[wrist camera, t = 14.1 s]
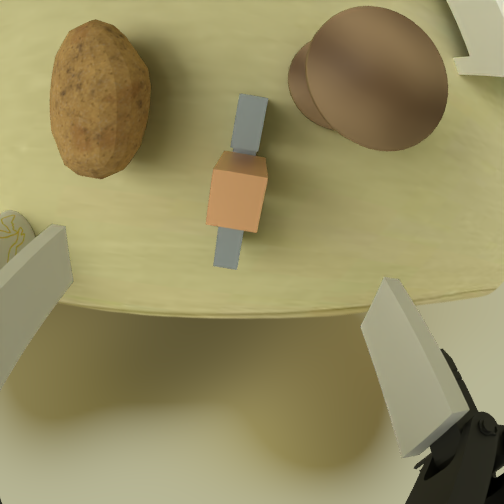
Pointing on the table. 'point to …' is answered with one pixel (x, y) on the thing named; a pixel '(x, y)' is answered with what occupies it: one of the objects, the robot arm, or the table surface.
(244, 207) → the orange brown tapered block
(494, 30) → the paper towel holder
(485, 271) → the table surface
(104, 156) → the potato
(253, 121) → the gray board
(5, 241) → the cup
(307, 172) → the table surface
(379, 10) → the bobbin
